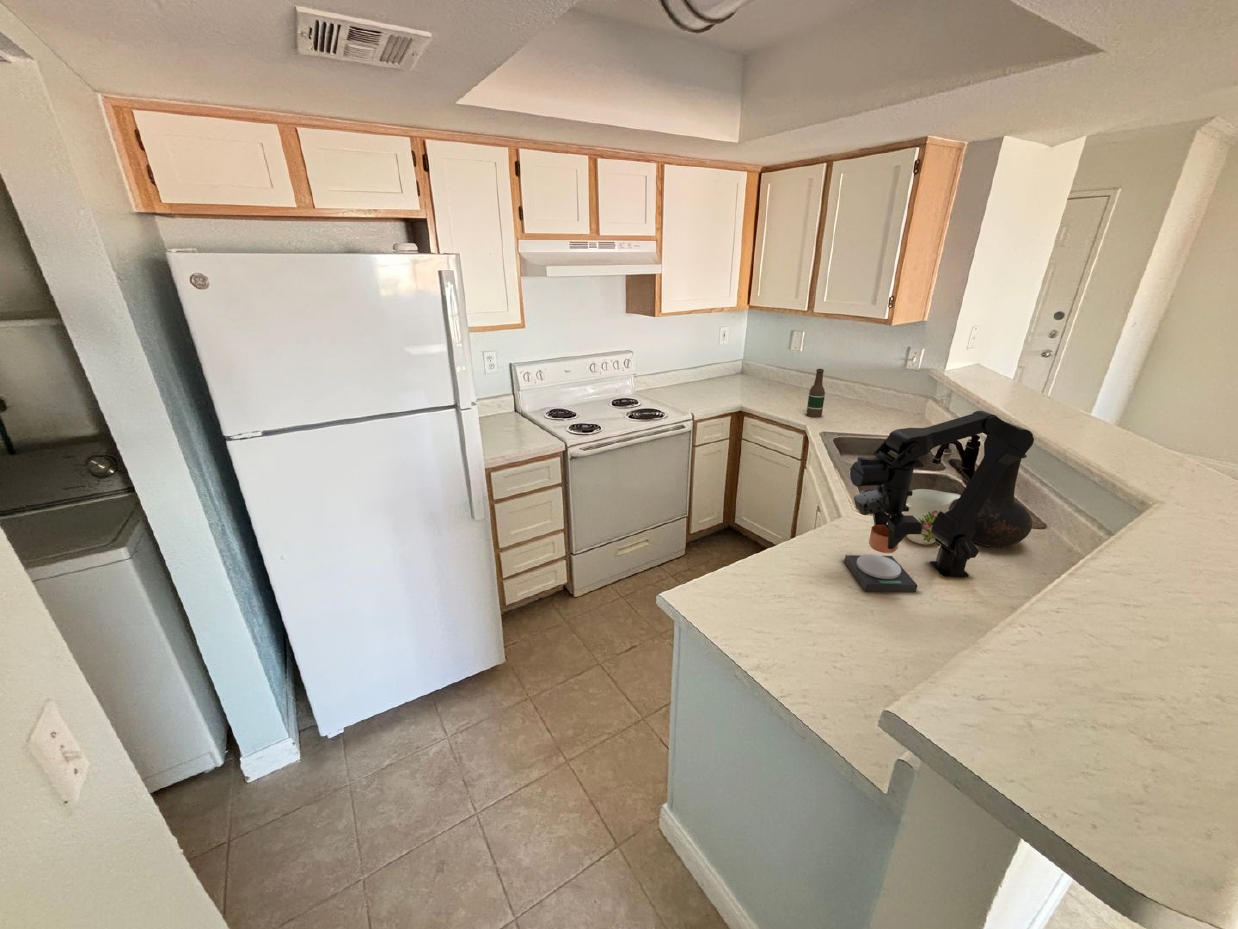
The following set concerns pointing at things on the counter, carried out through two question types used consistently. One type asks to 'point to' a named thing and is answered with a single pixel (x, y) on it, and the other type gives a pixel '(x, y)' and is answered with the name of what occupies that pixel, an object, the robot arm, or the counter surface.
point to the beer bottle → (816, 396)
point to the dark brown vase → (1003, 514)
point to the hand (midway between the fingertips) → (883, 541)
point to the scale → (880, 573)
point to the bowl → (880, 539)
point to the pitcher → (928, 511)
